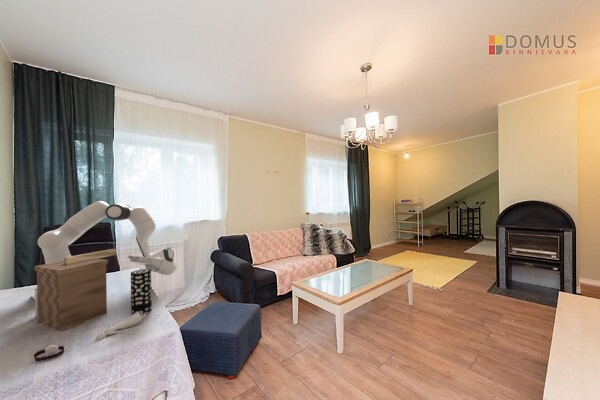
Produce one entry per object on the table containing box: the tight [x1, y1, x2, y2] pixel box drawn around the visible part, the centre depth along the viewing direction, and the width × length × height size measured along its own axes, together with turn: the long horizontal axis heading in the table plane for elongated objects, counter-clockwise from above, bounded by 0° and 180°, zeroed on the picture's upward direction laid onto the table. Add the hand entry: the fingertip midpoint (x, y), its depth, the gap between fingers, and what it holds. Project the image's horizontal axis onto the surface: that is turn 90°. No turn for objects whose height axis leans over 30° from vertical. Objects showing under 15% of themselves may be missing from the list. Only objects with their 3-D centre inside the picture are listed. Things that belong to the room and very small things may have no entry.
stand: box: [34, 258, 109, 332], centre depth 109 cm, size 20×18×26 cm
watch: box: [33, 344, 65, 362], centre depth 82 cm, size 8×5×4 cm, turn 114°
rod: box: [64, 248, 117, 265], centre depth 116 cm, size 3×20×3 cm, turn 159°
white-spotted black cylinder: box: [130, 268, 153, 316], centre depth 114 cm, size 8×8×20 cm
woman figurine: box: [95, 312, 147, 341], centre depth 99 cm, size 12×4×18 cm
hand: (134, 257), depth 135 cm, fingers open, 8 cm apart
